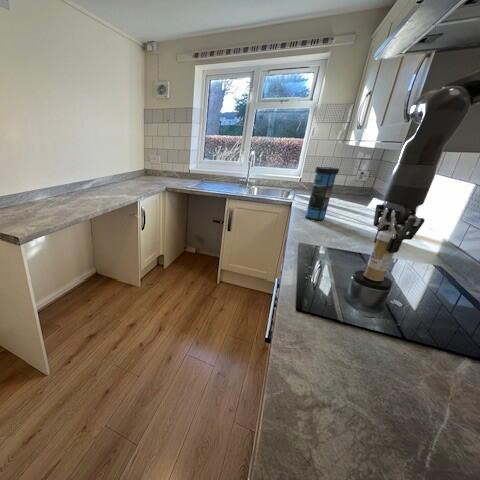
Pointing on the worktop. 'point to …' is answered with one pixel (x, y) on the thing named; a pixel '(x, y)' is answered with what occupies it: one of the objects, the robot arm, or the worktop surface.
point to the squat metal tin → (368, 293)
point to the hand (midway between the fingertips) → (384, 247)
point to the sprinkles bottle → (379, 258)
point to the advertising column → (321, 193)
